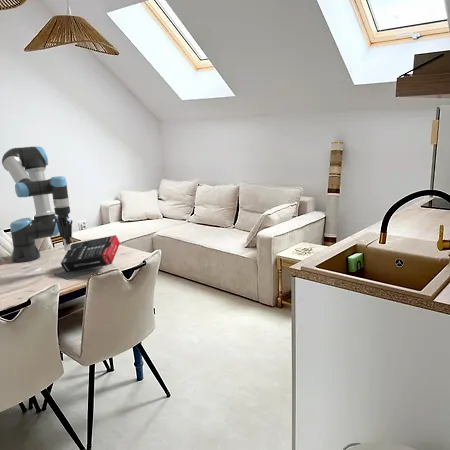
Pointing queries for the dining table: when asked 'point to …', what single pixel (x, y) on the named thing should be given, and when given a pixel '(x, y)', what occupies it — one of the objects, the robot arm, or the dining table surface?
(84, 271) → the display mat
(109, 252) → the graphics card box
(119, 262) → the dining table surface
